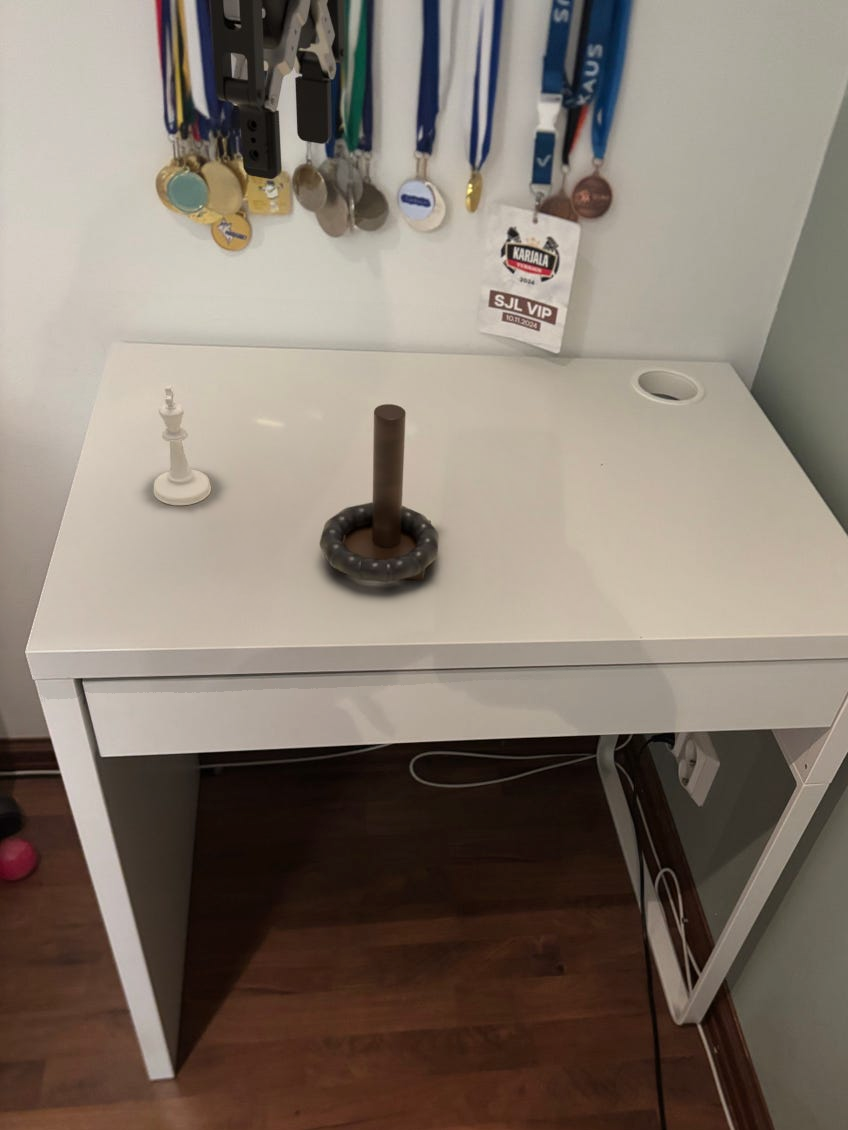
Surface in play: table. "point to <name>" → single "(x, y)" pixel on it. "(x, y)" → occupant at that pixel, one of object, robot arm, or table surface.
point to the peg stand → (385, 493)
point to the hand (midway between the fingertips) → (290, 157)
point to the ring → (371, 566)
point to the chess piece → (178, 462)
